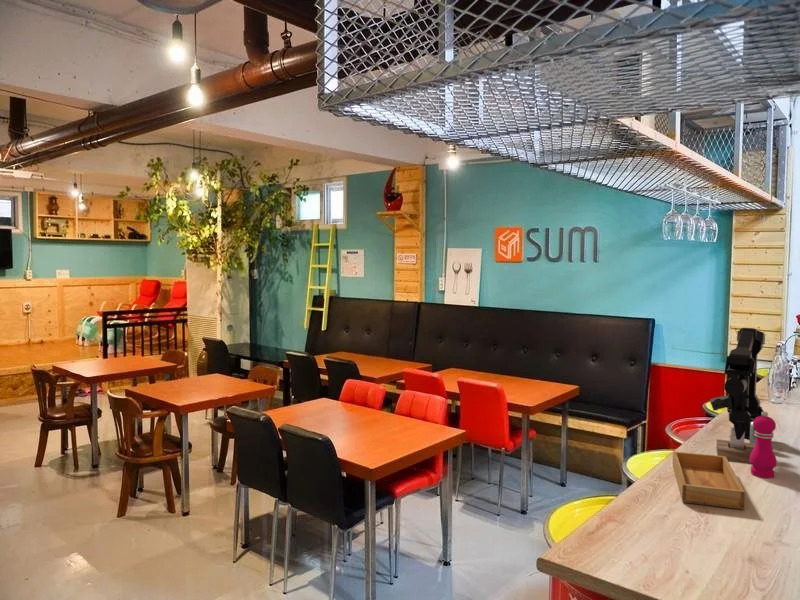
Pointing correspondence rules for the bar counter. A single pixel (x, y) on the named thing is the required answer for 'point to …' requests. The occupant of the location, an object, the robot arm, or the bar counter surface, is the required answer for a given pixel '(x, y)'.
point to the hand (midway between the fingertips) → (737, 435)
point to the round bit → (752, 433)
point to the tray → (707, 480)
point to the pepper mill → (763, 447)
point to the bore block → (734, 451)
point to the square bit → (734, 442)
